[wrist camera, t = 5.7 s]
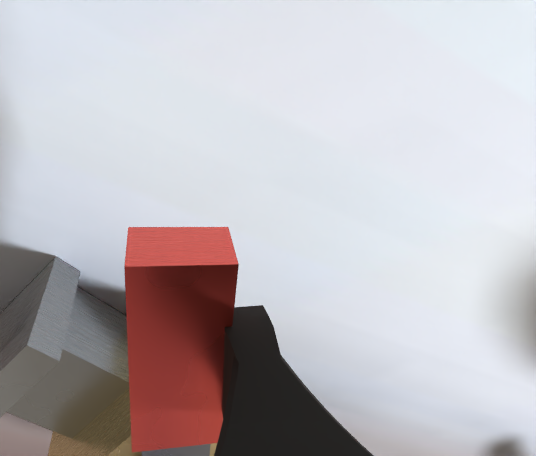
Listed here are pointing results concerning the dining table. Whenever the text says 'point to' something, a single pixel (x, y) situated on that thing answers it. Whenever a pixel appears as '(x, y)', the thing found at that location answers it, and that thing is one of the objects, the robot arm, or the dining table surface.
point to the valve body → (67, 365)
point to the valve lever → (177, 335)
